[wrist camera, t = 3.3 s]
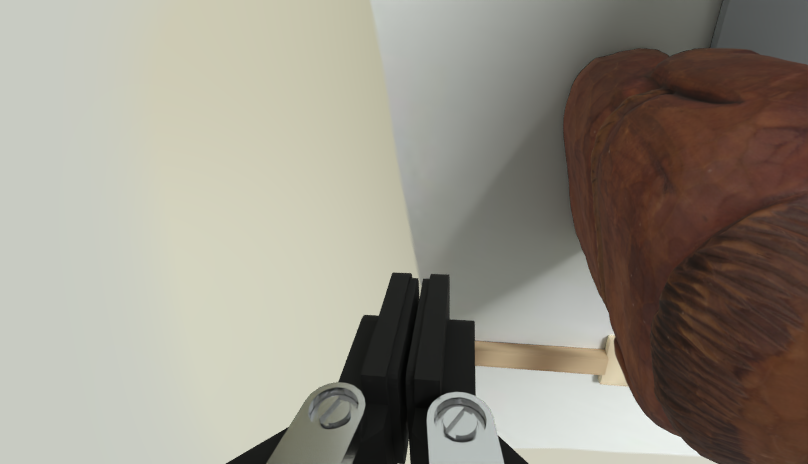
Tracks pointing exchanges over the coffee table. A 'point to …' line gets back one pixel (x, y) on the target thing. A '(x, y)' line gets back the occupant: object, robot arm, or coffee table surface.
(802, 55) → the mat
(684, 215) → the wooden figurine
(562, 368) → the turner
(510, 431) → the coffee table surface
